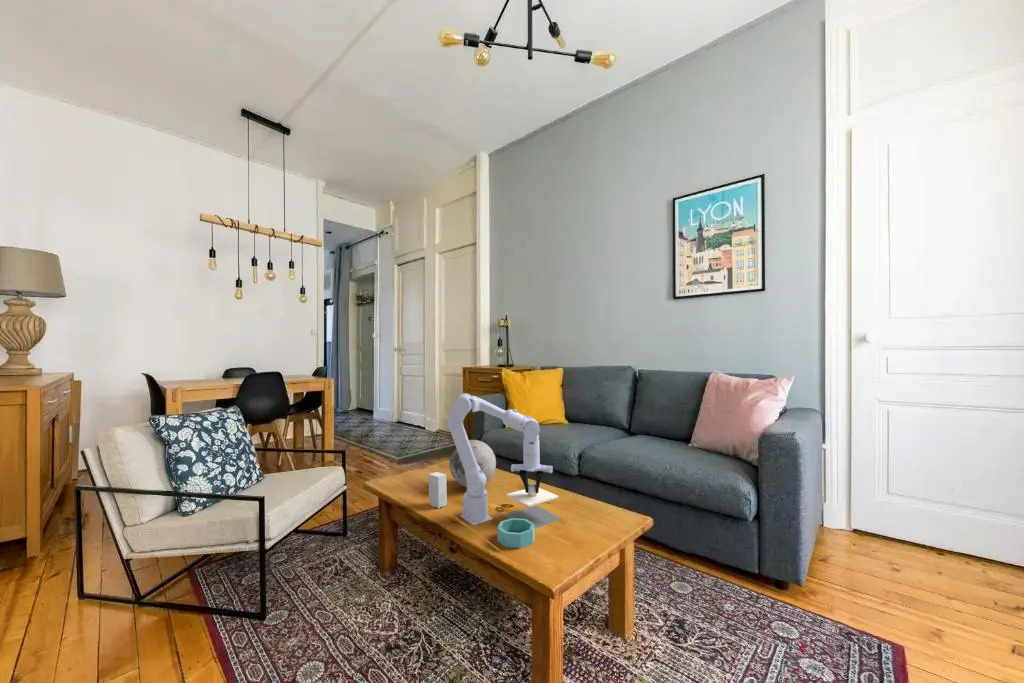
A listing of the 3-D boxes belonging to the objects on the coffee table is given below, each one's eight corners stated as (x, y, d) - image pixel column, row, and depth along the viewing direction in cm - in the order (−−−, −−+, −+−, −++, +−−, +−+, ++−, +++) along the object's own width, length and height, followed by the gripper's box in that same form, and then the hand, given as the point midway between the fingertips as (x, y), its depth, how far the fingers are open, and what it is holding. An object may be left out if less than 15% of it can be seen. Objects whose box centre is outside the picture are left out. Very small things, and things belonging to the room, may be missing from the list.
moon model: (486, 476, 192) (485, 433, 192) (503, 490, 173) (503, 442, 174) (444, 483, 183) (443, 438, 183) (458, 498, 165) (457, 448, 165)
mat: (503, 516, 147) (503, 515, 147) (536, 506, 155) (536, 505, 155) (528, 531, 135) (528, 530, 135) (562, 520, 143) (562, 518, 143)
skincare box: (447, 505, 158) (446, 474, 158) (438, 509, 155) (437, 477, 155) (437, 501, 162) (436, 471, 162) (428, 505, 159) (428, 474, 159)
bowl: (492, 538, 130) (491, 524, 130) (520, 529, 137) (520, 515, 137) (511, 552, 121) (511, 537, 121) (541, 542, 127) (540, 527, 127)
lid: (506, 495, 147) (506, 484, 147) (535, 487, 154) (535, 476, 154) (528, 507, 136) (528, 494, 136) (558, 497, 143) (558, 486, 143)
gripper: (509, 455, 143) (509, 495, 142) (551, 457, 140) (551, 497, 140) (512, 450, 150) (513, 488, 149) (552, 451, 147) (553, 490, 147)
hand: (532, 492), depth 145 cm, fingers closed on lid, 3 cm apart
